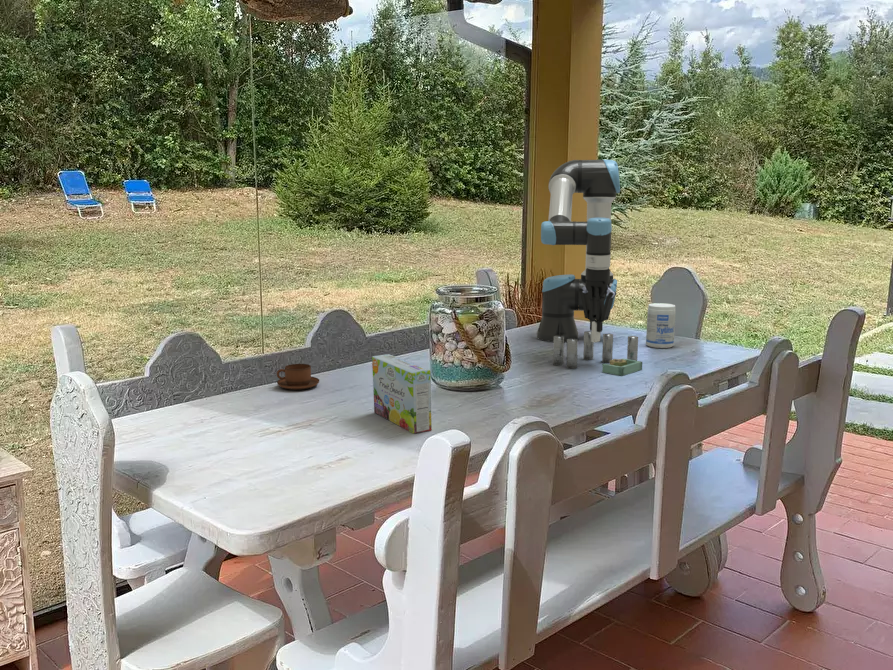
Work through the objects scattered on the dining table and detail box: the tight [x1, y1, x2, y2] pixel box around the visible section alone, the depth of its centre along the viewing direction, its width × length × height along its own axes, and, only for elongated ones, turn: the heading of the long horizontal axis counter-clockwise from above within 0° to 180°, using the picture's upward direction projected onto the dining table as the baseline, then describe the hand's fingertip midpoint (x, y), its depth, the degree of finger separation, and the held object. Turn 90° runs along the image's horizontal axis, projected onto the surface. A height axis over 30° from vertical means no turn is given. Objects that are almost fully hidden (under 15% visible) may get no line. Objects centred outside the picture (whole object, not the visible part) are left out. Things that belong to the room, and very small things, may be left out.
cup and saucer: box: [276, 363, 320, 391], centre depth 243 cm, size 12×12×6 cm
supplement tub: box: [645, 302, 677, 349], centre depth 298 cm, size 10×10×15 cm
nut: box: [609, 358, 627, 366], centre depth 262 cm, size 5×4×3 cm
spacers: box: [552, 330, 639, 370], centre depth 269 cm, size 21×20×9 cm
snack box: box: [371, 353, 433, 435], centre depth 208 cm, size 21×6×15 cm, turn 32°
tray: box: [601, 358, 643, 377], centre depth 261 cm, size 7×11×2 cm, turn 136°
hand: (595, 341), depth 270 cm, fingers closed
